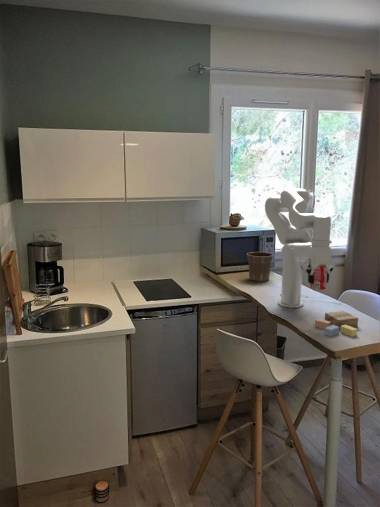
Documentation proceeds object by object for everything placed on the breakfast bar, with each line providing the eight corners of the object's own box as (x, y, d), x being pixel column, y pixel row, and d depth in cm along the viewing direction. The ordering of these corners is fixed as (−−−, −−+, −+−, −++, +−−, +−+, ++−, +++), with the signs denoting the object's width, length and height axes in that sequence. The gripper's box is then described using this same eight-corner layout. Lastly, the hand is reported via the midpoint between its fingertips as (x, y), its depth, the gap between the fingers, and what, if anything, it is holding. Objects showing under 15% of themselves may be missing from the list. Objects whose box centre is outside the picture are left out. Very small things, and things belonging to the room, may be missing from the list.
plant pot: (241, 277, 282) (242, 252, 279) (264, 275, 286) (265, 251, 283) (252, 283, 266) (253, 257, 263) (276, 281, 271) (278, 255, 268)
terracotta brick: (314, 326, 196) (314, 320, 195) (317, 324, 198) (318, 318, 197) (327, 330, 192) (327, 323, 191) (330, 328, 194) (330, 321, 193)
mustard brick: (340, 332, 189) (340, 325, 188) (344, 331, 191) (345, 324, 190) (352, 337, 184) (352, 330, 183) (356, 335, 186) (357, 328, 185)
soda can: (323, 287, 204) (324, 261, 202) (328, 291, 197) (329, 265, 195) (307, 287, 204) (309, 261, 202) (312, 291, 197) (313, 265, 195)
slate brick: (330, 336, 184) (330, 330, 183) (324, 334, 186) (324, 327, 186) (338, 333, 188) (339, 326, 187) (332, 331, 190) (333, 324, 189)
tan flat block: (324, 321, 202) (325, 312, 201) (343, 319, 205) (344, 311, 204) (337, 329, 192) (338, 320, 192) (357, 326, 195) (358, 318, 195)
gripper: (332, 241, 203) (330, 279, 206) (298, 242, 198) (296, 281, 201) (342, 244, 196) (340, 283, 199) (307, 245, 191) (305, 285, 194)
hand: (318, 282), depth 200 cm, fingers closed on soda can, 7 cm apart
